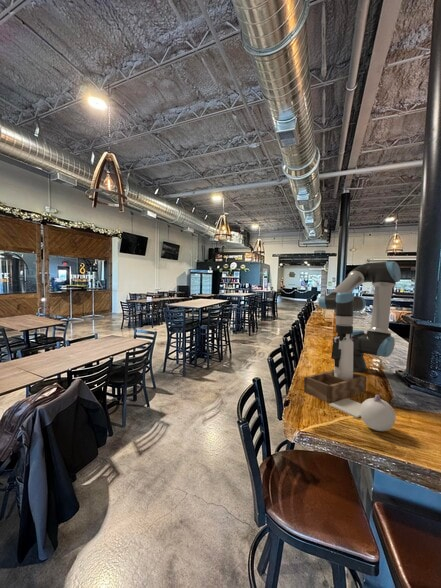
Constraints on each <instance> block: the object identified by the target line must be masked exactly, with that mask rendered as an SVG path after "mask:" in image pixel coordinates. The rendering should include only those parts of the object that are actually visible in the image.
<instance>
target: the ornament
mask: <svg viewBox="0 0 441 588" xmlns="http://www.w3.org/2000/svg"><path fill="white" fill-rule="evenodd" d="M361 404H362V405H361V407H360V415H361V416H360V417H361V420H362V422H364V423H363V424H364V425H366V426H367V427H368V428H369V429H372V430H373V431H378V432H387V431H389V430H392V428H393V427H394V425H395V423H396V418H397V416H396V413H395V410H394V409H393V407H392V406H391V404H390V403H388V402H387V401H386V400H383V399H382V398H381V396H380V394H375V396H374V397H370V398H367V399H365V400H364V401H362V403H361Z"/></svg>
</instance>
